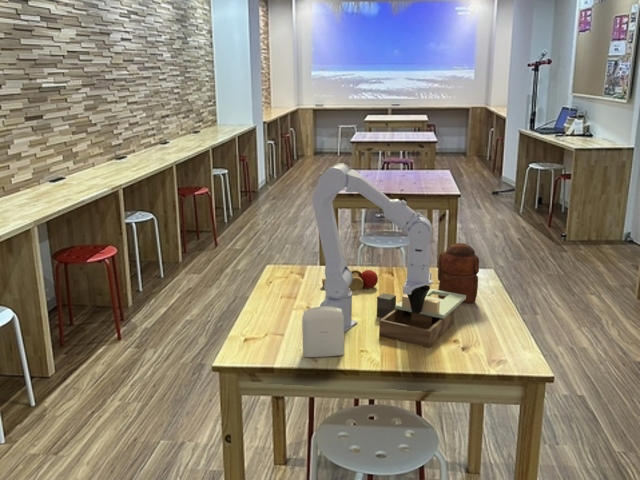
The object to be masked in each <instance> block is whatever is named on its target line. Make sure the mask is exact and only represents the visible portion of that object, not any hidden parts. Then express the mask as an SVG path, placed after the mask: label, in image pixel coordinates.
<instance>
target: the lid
mask: <svg viewBox="0 0 640 480" xmlns="http://www.w3.org/2000/svg"><path fill="white" fill-rule="evenodd" d="M432 295H436V296H438V295H441V296H446V297H445V298H444V299H439V298H438V297H433V296H432ZM465 299H466V295H462V294H457V293H451V292H446V291H440V290H438V289H435V288H430V290H429V291H428V293H427V295H426V297H425V300H424V303H423V307H422V310H421V312H420V313H419V314H423V315H428V316H433V317H437V318H442V319H444V318H445V317H446V316H447V315H448V314H449V313H451V312H452V311H453V310H454V309H457V307H458V306H460V305H461V304H462V302H463V301H464V300H465ZM395 309H399V310H404V311H408V312H412V310H411V305H410V301H409V298H408V295H407V294H403V295H402V296H401V301H399V302H397V303H396V305H395ZM454 311H455V310H454ZM413 313H414V312H413Z"/></svg>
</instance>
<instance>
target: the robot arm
mask: <svg viewBox="0 0 640 480" xmlns="http://www.w3.org/2000/svg"><path fill="white" fill-rule="evenodd" d="M344 188H346V189H345V192H346V193H358V194H360V195H361V196H362V197H364V198H365V199H367V200H368V201H370V202H371V203H373V204H374V205H376V206H378V207H379V208H380V209H381V210H383V215H384V218H386V219H387V220H389V221H390V222H391V223H392V224H394V225H395V226H396V227H397V228H399V229H400V230H402V232H406V233H407V236H408V239H409V240H408V246H407V263H406V264H407V266H406V278H405V283H404V285H403V286H402V289H403V290H402V294H403V295H405V294H407V295H408V298H409V301H410V305H411V310H412V312H414V313H418V314H419V313H420V312H421V310H422V307H423V303H424V300H425V297H426V295H427V293H428V291H429V290H430V289H431V285H433V284H434V280H432V272H430V266H431V265H430V261H431V235H432V229H433V228H432V223H431V221H430V219H429V218H428V217H427V216H425V215H422V214H421V213H420V212H419V211H418V212H416V211H414V210H413V209H412V208H411V207H409V206H408V205H407V201H406V200H404V199H402V200H400V199H399V198H394V199H391V198H390V197H388V196H387V195H386V194H385V193H384V192H382V191H381V190H380V189H379V188H377V186H375V185H374V184H373V183H371V181H369V180H367V178H365V177H364V176H362V175H361V174H360V173H359V172H357V171H356V170H355V169H353V168H350V167H349V165H347V164H345V163H339V162H338V163H336V164H334V165H333V166H332V167H330V168H328V169H326V170H325V171H324V172H323V173H322V175H320V177H319V178H318V182H317V185H316V188H315V189H314V194H313V196H312V206H313V210H314V211H313V212H314V215H315V220H316V225H317V229H318V235H319V238H320V244H321V249H322V252H323V257H324V258H323V259H324V261H325V267H324V277H325V279H326V280H325V284H324V288H323V289H324V291H325V295H324V299H323V301H322V302H321V303H320V305H319V307H325V306H326V307H335V308H339V309H341V310H342V313H343V316H344V333H345V332H346V331H348V330H350V329H351V328H352V327H353V326H355V325H356V324H358V320H354V319H353V318H352V316H353V315H352V313H353V312H352V311H353V302H352V301H353V298H352V297H353V292H352V290H351V289H350V287H349V286H350V284H351V283H352V281H353V275H352V272H351V271H352V270H350V269H349V266H348V262H347V260H346V259H345V257H344V255H343V249H342V244H341V239H340V234H339V230H338V229H339V228H338V224H337V220H336V214H335V210H334V204H333V201H334V200H335V199H336V196H337V195H338V194H339V193H340V192H341V191H342V190H344Z"/></svg>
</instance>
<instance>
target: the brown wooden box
mask: <svg viewBox="0 0 640 480" xmlns="http://www.w3.org/2000/svg"><path fill="white" fill-rule="evenodd" d="M455 309H456V308H455ZM455 309H454V310H453V311H452V312H451V313H449V314H448V315H447V316H446V317H445V318H444V319H442V318H437V317H433V316H428V315H423V314H418V313H413V312H408V311H404V310H399V309H394V310H393V311H392V312H390V313H389V314H388V315H386V316H385V317H384V318H380V319H379V332H378V333H379V335H378V336H379V337H381V338H386V339H390V340H392V341H397V340H398V342H403V343H406V344H411V345H414V344H415V346H419V347H424V348H427V349H430V348H431V347H432V346H433V345H434V344H435V343H436V342H437V341H438V340H439V339H440V338H442V336H443V335H444V334H446V332H448V330H449V329H450V328H452V326H454V324H455Z"/></svg>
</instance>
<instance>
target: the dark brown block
mask: <svg viewBox="0 0 640 480" xmlns="http://www.w3.org/2000/svg"><path fill="white" fill-rule="evenodd" d="M396 304H397V295H394V294H389V293H385V292H382V293H381V294H380V295H378V296H377V297H376V318H380V319H382V318H384V317H385V316H386V315H388V314H389V313H390V312H392V311H393V310H394V309H395V305H396Z"/></svg>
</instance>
